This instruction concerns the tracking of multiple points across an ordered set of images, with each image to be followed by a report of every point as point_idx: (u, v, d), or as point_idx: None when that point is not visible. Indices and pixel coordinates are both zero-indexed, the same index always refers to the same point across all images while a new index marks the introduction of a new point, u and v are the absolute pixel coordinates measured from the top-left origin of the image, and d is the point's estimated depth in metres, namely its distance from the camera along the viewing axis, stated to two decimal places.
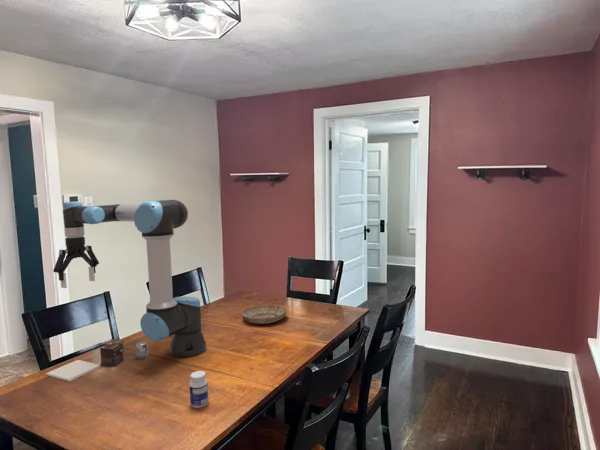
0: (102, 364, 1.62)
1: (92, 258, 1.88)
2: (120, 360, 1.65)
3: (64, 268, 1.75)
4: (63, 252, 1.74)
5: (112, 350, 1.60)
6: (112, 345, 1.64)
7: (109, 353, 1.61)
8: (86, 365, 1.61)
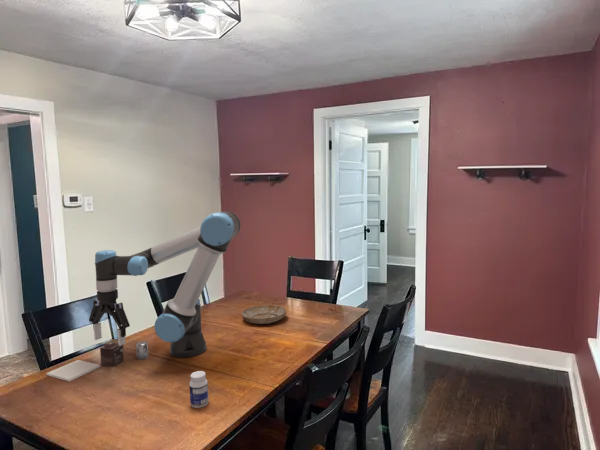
0: (102, 364, 1.62)
1: None
2: (120, 360, 1.65)
3: (94, 319, 1.64)
4: (94, 303, 1.64)
5: (112, 350, 1.60)
6: (112, 345, 1.64)
7: (109, 353, 1.61)
8: (86, 365, 1.61)
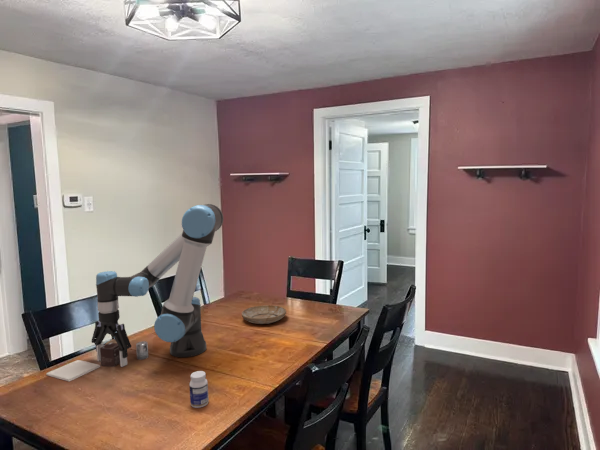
0: (102, 364, 1.62)
1: None
2: None
3: (96, 340, 1.65)
4: (95, 324, 1.65)
5: (112, 350, 1.60)
6: (112, 345, 1.64)
7: (109, 353, 1.61)
8: (86, 365, 1.61)
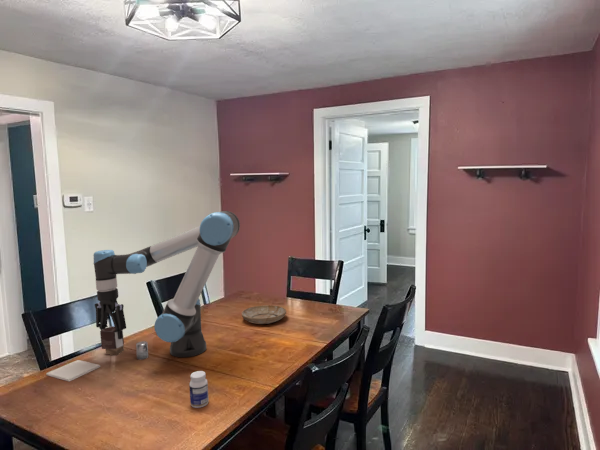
0: (102, 347, 1.61)
1: None
2: None
3: (100, 324, 1.63)
4: (95, 306, 1.64)
5: (112, 333, 1.60)
6: (112, 328, 1.63)
7: (109, 336, 1.60)
8: (86, 365, 1.61)
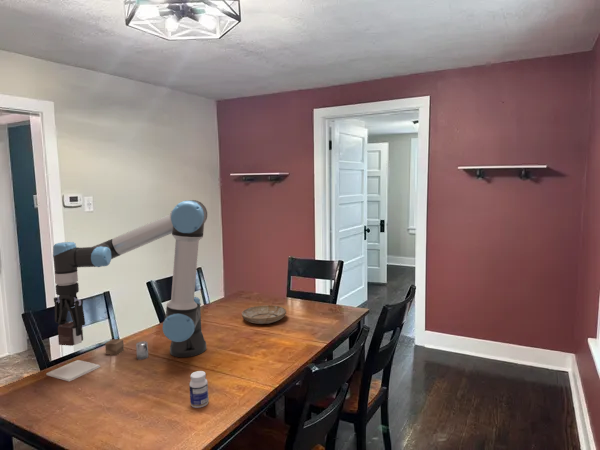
0: (60, 343, 1.54)
1: None
2: None
3: (59, 319, 1.57)
4: (54, 300, 1.57)
5: (70, 328, 1.53)
6: (71, 324, 1.56)
7: (66, 331, 1.53)
8: (86, 365, 1.61)
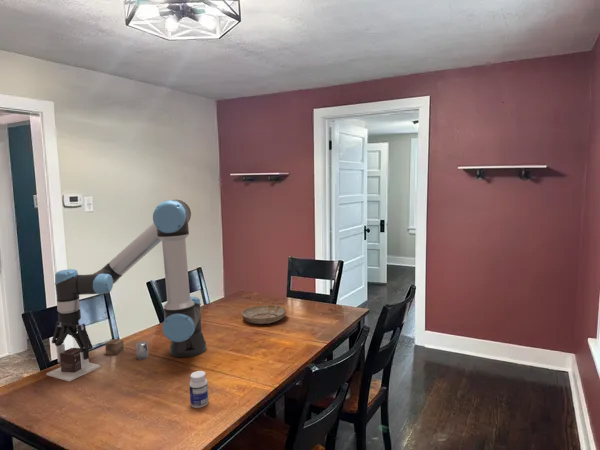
0: (62, 370, 1.55)
1: None
2: None
3: (57, 341, 1.59)
4: (56, 324, 1.58)
5: (72, 355, 1.54)
6: (73, 350, 1.57)
7: (69, 358, 1.54)
8: None
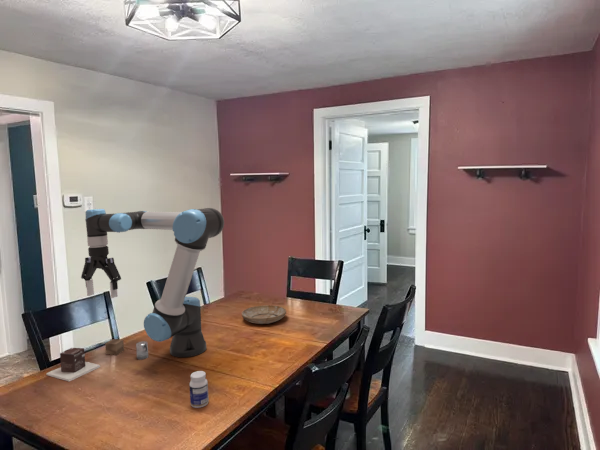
0: (62, 370, 1.55)
1: None
2: (82, 365, 1.58)
3: (86, 276, 1.73)
4: (85, 260, 1.72)
5: (72, 355, 1.54)
6: (73, 350, 1.57)
7: (69, 358, 1.54)
8: (86, 365, 1.61)
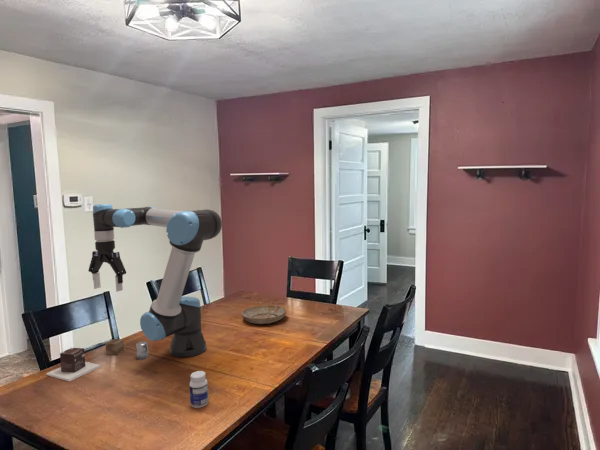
0: (62, 370, 1.55)
1: None
2: (82, 365, 1.58)
3: (93, 269, 1.77)
4: (92, 253, 1.76)
5: (72, 355, 1.54)
6: (73, 350, 1.57)
7: (69, 358, 1.54)
8: (86, 365, 1.61)
